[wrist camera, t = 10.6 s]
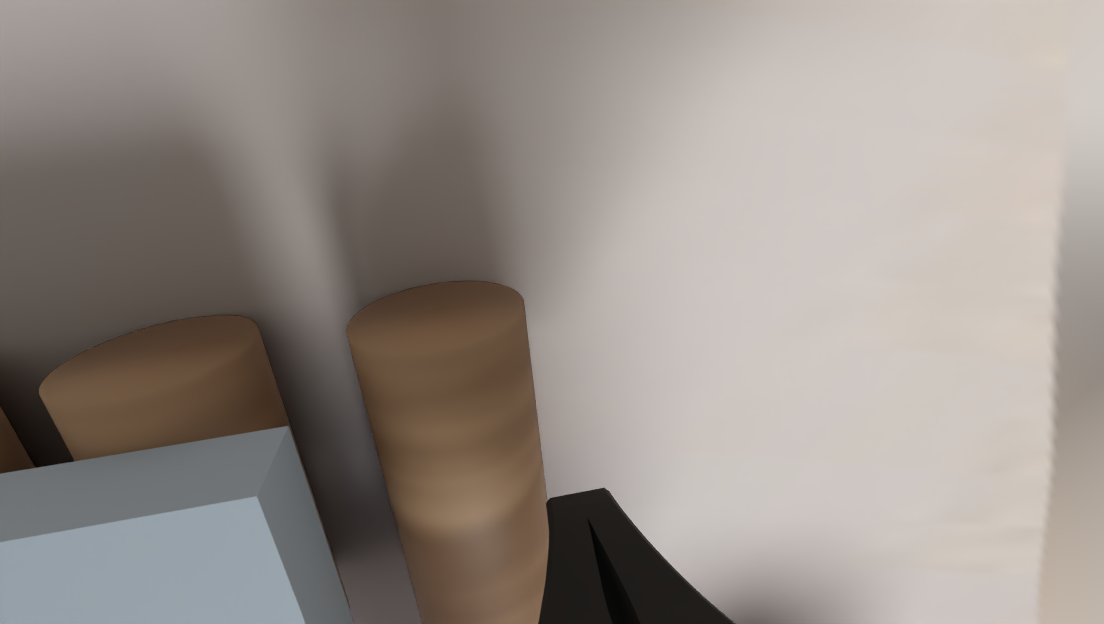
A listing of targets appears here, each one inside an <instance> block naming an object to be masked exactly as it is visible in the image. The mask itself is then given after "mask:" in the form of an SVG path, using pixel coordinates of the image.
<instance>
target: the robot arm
mask: <svg viewBox="0 0 1104 624" xmlns="http://www.w3.org/2000/svg"><path fill="white" fill-rule="evenodd" d="M546 509H547V518H548V527H549V549H548V560H547V571H546V580H545V587H544V593H543V599H542V605H541V611H540V617H539V622H538V624H735V623H734V622H733V621H731V620H730V619H729V618H728V617H727V616H725V615H724V614H723V613H722V612H721V611H719V610H718V609H717V608H716V607H715V606H714V605H712V604H711V603H710V602H709V601H708V600H707V599H706V598H705V597H703V596H702V595H701V594H700V593H699V592H698V591H697V590H696V589H695V588H694V587H693V586H692V585H691V584H690V583H688V582H687V581H686V580H685V579H684V578H683V577H682V576H681V575H680V574H679V573H678V572H677V571H676V570H675V569H674V568H673V567H672V566H671V565H670V564H669V563H668V562H667V561H666V560H665V558H664V557H663V556H662V555H661V554H660V553H659V552H658V551H657V550H656V549H655V548H654V547H653V545H652V544H651V543H650V542H649V541H648V540H647V539H646V538H645V537H644V535H643V534H642V533H641V532H640V531H639V530H638V528H637V527H636V526H635V525H634V524H633V522H632V521H631V520H630V519H629V517H628V516H627V515H626V514H625V512H624V511H623V510H622V509H621V507H620V506H619V505H618V503H617V502H616V500H615V499H614V498H613V496H612V495H611V493H610V492H609V491H608V490H607V489H605V488H601V489H595V490H590V491H585V492H580V493H574V494H569V495H564V496H558V497H553V498H550V499H549V500H548V501H547V502H546Z"/></svg>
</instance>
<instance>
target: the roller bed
mask: <svg viewBox="0 0 1104 624" xmlns="http://www.w3.org/2000/svg"><path fill="white" fill-rule="evenodd" d="M346 333H347V338H348V342H349V346H350V349H351V353H352V357H353V361H354V365H355V368H356V372H357V376H358V380H359V384H360V388H361V391H362V395H363V399H364V403H365V407H366V411H367V414H368V418H369V422H370V426H371V430H372V433H373V437H374V441H375V445H376V449H377V453H378V456H379V460H380V464H381V468H382V472H383V476H384V479H385V483H386V487H387V491H388V495H389V498H390V502H391V506H392V510H393V514H394V518H395V521H396V525H397V529H398V533H399V537H400V541H401V544H402V548H403V552H404V556H405V560H406V563H407V567H408V571H409V575H410V579H411V583H412V586H413V590H414V594H415V598H416V602H417V606H418V609H419V613H420V617H421V621H422V624H538V622H539V617H540V611H541V605H542V599H543V593H544V587H545V580H546V571H547V560H548V549H549V527H548V518H547V509H546V502H547V495H546V486H545V478H544V469H543V461H542V452H541V444H540V435H539V427H538V418H537V410H536V401H535V393H534V384H533V375H532V367H531V358H530V350H529V341H528V333H527V324H526V316H525V307H524V300H523V298H522V296H521V295H520V294H519V293H518V292H517V291H515V290H514V289H511V288H509V287H507V286H504V285H500V284H496V283H490V282H481V281H455V282H444V283H436V284H430V285H425V286H420V287H416V288H412V289H408V290H405V291H401V292H398V293H395V294H392V295H390V296H387V297H385V298H382V299H380V300H378V301H376V302H374V303H372V304H370V305H368V306H367V307H365V308H364V309H362V310H361V311H359V312H358V313H357V314H356V315H355V316H354V317H353V318H352V319H351V320H350V322H349V324H348V325H347V329H346ZM39 395H40V397H41V399H42V401H43V403H44V404H45V406H46V408H47V410H48V412H49V414H50V416H51V418H52V420H53V421H54V423H55V425H56V427H57V429H58V431H59V433H60V435H61V436H62V438H63V440H64V442H65V444H66V446H67V448H68V450H69V451H70V453H71V455H72V457H73V459H74V461H80V460H86V459H92V458H98V457H104V456H110V455H116V454H122V453H129V452H135V451H141V450H147V449H153V448H159V447H165V446H171V445H177V444H183V443H189V442H195V441H201V440H207V439H213V438H219V437H225V436H231V435H237V434H243V433H249V432H255V431H261V430H267V429H273V428H279V427H285V426H289V428H290V431H291V434H292V437H293V440H294V443H295V446H296V449H297V452H298V455H299V458H300V461H301V464H302V467H303V470H304V473H305V476H306V479H307V482H308V486H309V489H310V492H311V495H312V498H313V501H314V504H315V507H316V510H317V513H318V516H319V519H320V522H321V525H322V528H323V531H324V534H325V537H326V540H327V543H328V546H329V549H330V552H331V555H332V558H333V561H334V564H335V567H336V570H337V573H338V576H339V579H340V582H341V585H342V588H343V591H344V594H345V597H346V600H347V603H348V606H349V602H348V599H347V595H346V592H345V589H344V586H343V583H342V580H341V577H340V574H339V571H338V568H337V565H336V562H335V559H334V556H333V553H332V550H331V547H330V544H329V541H328V538H327V535H326V532H325V529H324V526H323V523H322V520H321V517H320V514H319V511H318V508H317V505H316V502H315V499H314V496H313V493H312V490H311V487H310V483H309V480H308V477H307V474H306V471H305V468H304V465H303V462H302V459H301V456H300V453H299V450H298V447H297V444H296V441H295V438H294V435H293V432H292V429H291V426H290V423H289V420H288V417H287V414H286V411H285V408H284V405H283V402H282V399H281V396H280V393H279V390H278V387H277V384H276V381H275V378H274V375H273V372H272V368H271V365H270V362H269V359H268V356H267V353H266V350H265V347H264V344H263V341H262V338H261V335H260V332H259V329H258V326H257V325H256V323H255V322H254V321H252V320H250V319H248V318H245V317H240V316H232V315H214V316H202V317H194V318H188V319H182V320H177V321H172V322H168V323H163V324H159V325H155V326H152V327H148V328H145V329H141V330H138V331H135V332H132V333H129V334H126V335H123V336H120V337H117V338H115V339H112V340H109V341H107V342H105V343H102V344H100V345H97V346H95V347H93V348H91V349H89V350H87V351H85V352H83V353H81V354H79V355H77V356H75V357H73V358H72V359H70V360H68V361H66V362H65V363H63V364H62V365H60V366H59V367H58V368H56V369H55V370H54V371H52V372H51V373H50V374H49V375H48V376H47V377H46V378H45V379H44V380H43V382H42V383H41V385H40V388H39ZM32 468H35V466H34V464H33V463H32V461H31V459H30V457H29V456H28V454H27V452H26V450H25V449H24V447H23V445H22V443H21V442H20V440H19V438H18V436H17V435H16V433H15V431H14V429H13V428H12V426H11V424H10V422H9V421H8V419H7V417H6V415H5V414H4V412H3V410H2V408H1V407H0V474H2V473H8V472H14V471H20V470H26V469H32ZM349 609H350V606H349Z"/></svg>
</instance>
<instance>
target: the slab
mask: <svg viewBox="0 0 1104 624" xmlns="http://www.w3.org/2000/svg"><path fill="white" fill-rule="evenodd" d="M0 624H354V621H353V618H352V615H351V612H350V609H349V606H348V603H347V600H346V597H345V594H344V591H343V588H342V585H341V582H340V579H339V576H338V573H337V570H336V567H335V564H334V561H333V558H332V555H331V552H330V549H329V546H328V543H327V540H326V537H325V534H324V531H323V528H322V525H321V522H320V519H319V516H318V513H317V510H316V507H315V504H314V501H313V498H312V495H311V492H310V489H309V486H308V482H307V479H306V476H305V473H304V470H303V467H302V464H301V461H300V458H299V455H298V452H297V449H296V446H295V443H294V440H293V437H292V434H291V431H290V428H289V426H285V427H279V428H273V429H267V430H261V431H255V432H249V433H243V434H237V435H231V436H225V437H219V438H213V439H207V440H201V441H195V442H189V443H183V444H177V445H171V446H165V447H159V448H153V449H147V450H141V451H135V452H129V453H122V454H116V455H110V456H104V457H98V458H92V459H86V460H80V461H74V462H68V463H62V464H56V465H50V466H44V467H38V468H32V469H26V470H20V471H14V472H8V473H2V474H0Z"/></svg>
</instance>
